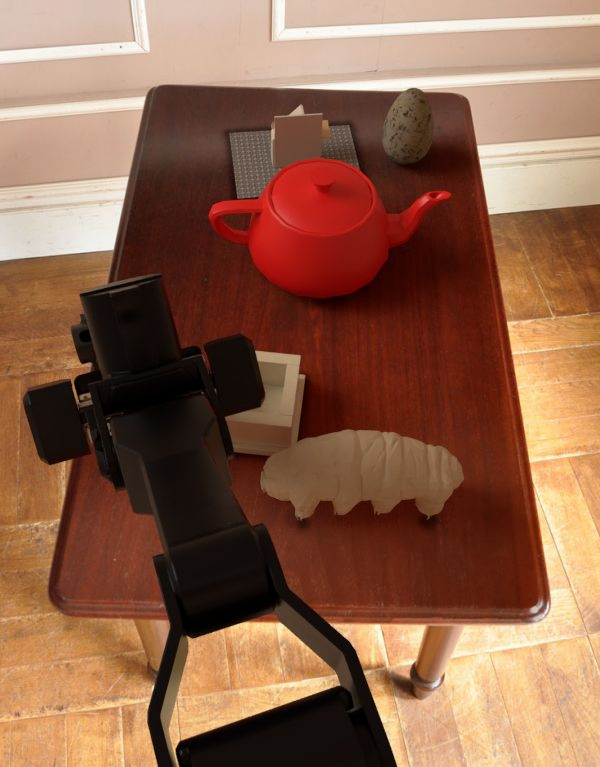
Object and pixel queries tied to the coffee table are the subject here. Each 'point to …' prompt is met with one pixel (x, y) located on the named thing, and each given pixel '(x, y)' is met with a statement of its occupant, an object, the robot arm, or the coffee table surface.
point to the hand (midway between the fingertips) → (140, 380)
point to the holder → (271, 408)
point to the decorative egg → (408, 127)
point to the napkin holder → (286, 149)
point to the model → (361, 472)
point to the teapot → (321, 228)
